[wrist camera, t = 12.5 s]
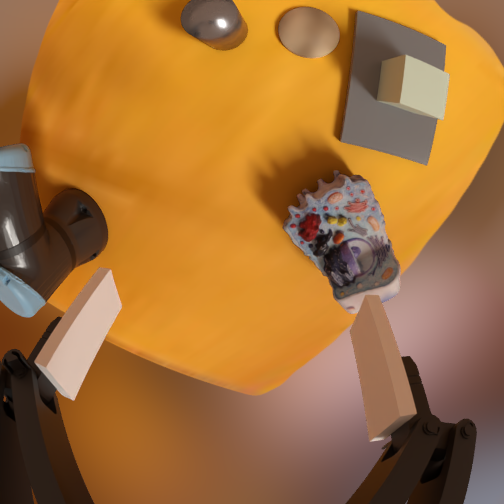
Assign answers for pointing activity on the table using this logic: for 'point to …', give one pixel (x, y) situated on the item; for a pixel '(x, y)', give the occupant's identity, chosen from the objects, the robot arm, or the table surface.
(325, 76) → the table surface
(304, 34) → the cork coaster
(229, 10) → the dark tin
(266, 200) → the table surface
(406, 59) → the sage block
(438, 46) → the slate board
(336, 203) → the cell model
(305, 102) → the table surface
